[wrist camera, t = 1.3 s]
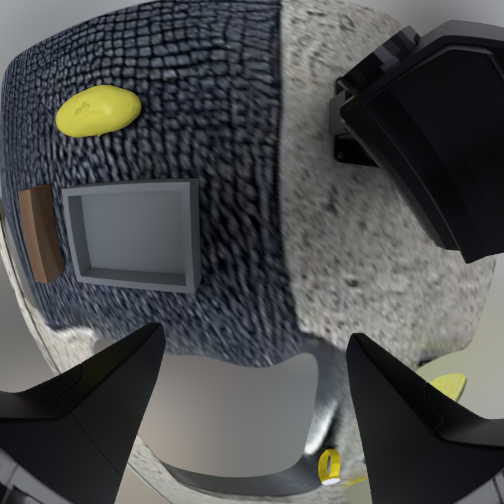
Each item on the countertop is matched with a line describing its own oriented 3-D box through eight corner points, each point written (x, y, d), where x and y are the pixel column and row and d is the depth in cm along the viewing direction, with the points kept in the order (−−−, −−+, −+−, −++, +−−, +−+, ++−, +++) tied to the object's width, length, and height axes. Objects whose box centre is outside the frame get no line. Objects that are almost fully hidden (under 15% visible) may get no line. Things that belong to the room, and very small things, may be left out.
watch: (324, 443, 32) (329, 474, 27) (341, 442, 32) (347, 472, 27) (313, 460, 34) (316, 488, 28) (328, 460, 34) (332, 487, 28)
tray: (198, 178, 19) (189, 181, 17) (201, 278, 22) (194, 293, 20) (79, 184, 20) (62, 189, 17) (91, 270, 23) (77, 281, 20)
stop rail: (50, 183, 20) (29, 189, 17) (64, 270, 23) (47, 283, 20) (38, 185, 20) (18, 191, 17) (52, 269, 23) (35, 281, 20)
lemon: (145, 137, 18) (120, 136, 15) (69, 138, 18) (41, 140, 15) (152, 86, 17) (130, 75, 13) (75, 93, 17) (48, 89, 13)
